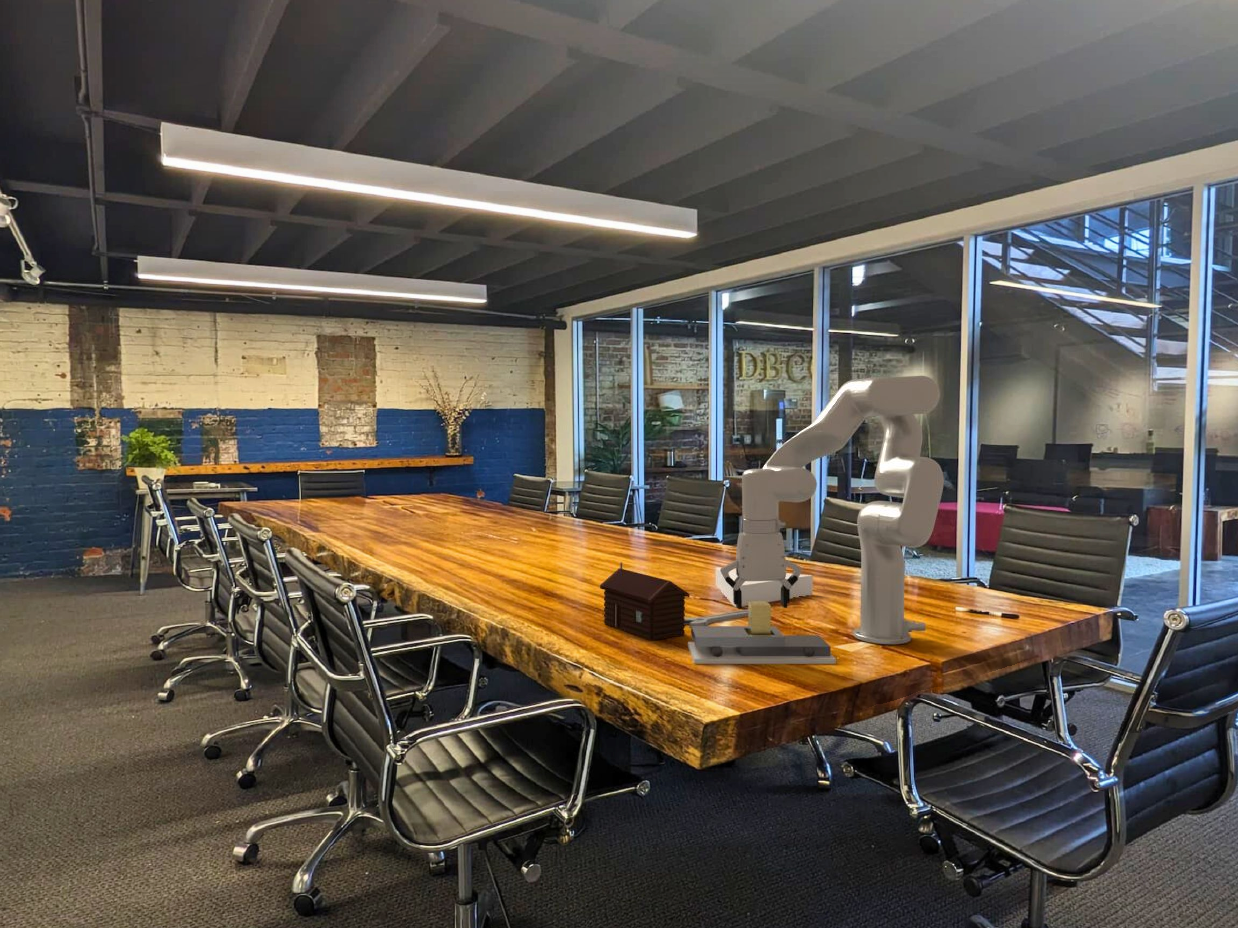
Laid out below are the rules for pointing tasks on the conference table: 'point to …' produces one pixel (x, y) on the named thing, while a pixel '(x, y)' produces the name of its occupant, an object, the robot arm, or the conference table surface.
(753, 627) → the pin
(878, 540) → the robot arm
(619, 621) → the model building
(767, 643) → the gray toy truck
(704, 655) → the board
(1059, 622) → the conference table surface
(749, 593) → the triangle block
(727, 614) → the adjustable wrench
